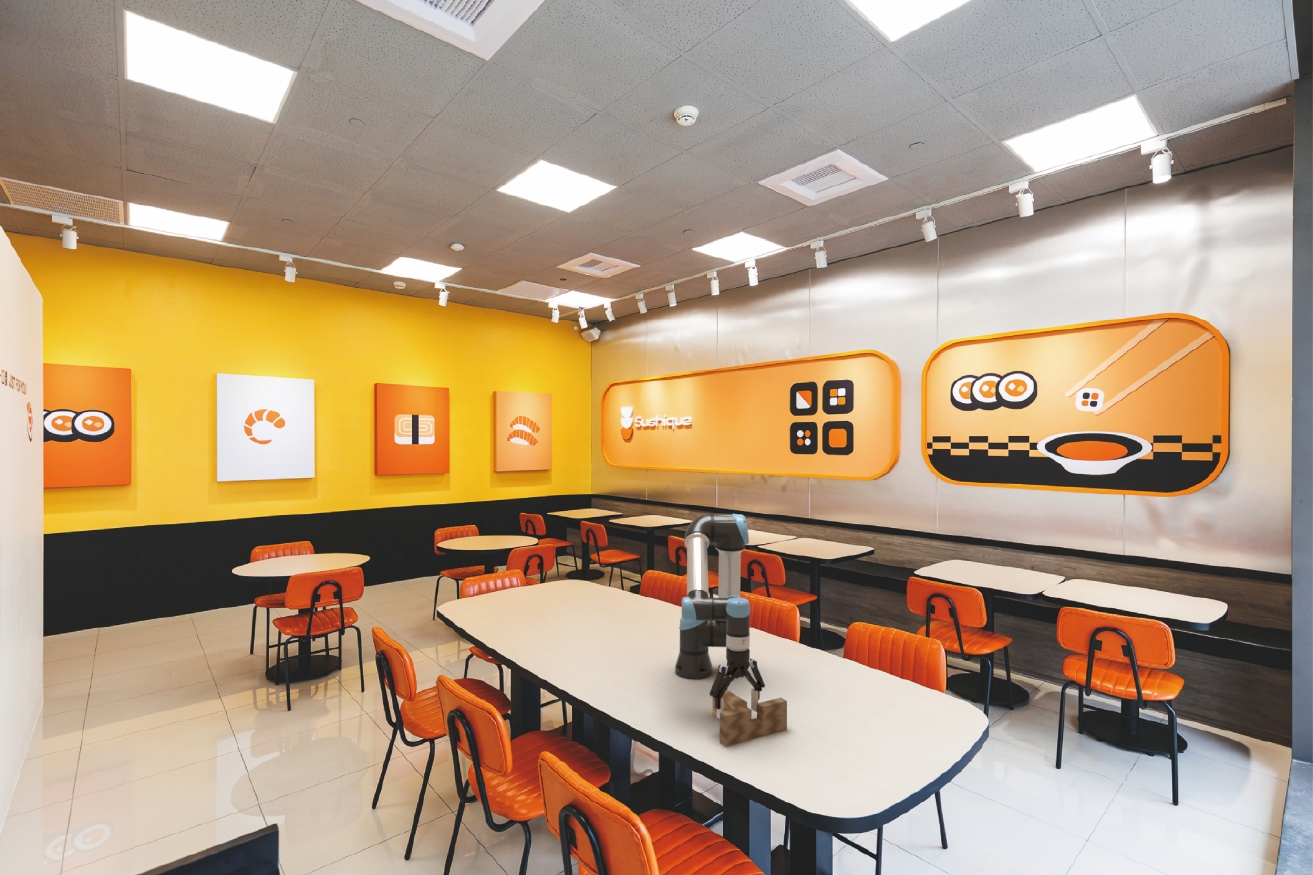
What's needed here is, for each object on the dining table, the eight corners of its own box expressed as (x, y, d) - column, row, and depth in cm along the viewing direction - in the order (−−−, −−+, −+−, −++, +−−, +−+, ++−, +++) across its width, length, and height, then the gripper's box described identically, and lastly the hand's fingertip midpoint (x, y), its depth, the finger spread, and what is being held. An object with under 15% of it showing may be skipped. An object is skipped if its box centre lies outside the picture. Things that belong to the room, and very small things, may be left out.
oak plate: (746, 730, 193) (747, 701, 193) (739, 732, 191) (739, 703, 191) (720, 712, 206) (720, 685, 206) (712, 713, 204) (712, 687, 204)
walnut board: (725, 746, 182) (725, 716, 182) (719, 741, 185) (719, 712, 185) (786, 729, 194) (787, 700, 194) (780, 725, 196) (780, 697, 196)
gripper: (712, 656, 186) (711, 726, 185) (775, 645, 198) (775, 711, 197) (699, 649, 192) (698, 717, 191) (761, 639, 204) (761, 702, 203)
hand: (737, 714), depth 194 cm, fingers open, 13 cm apart
